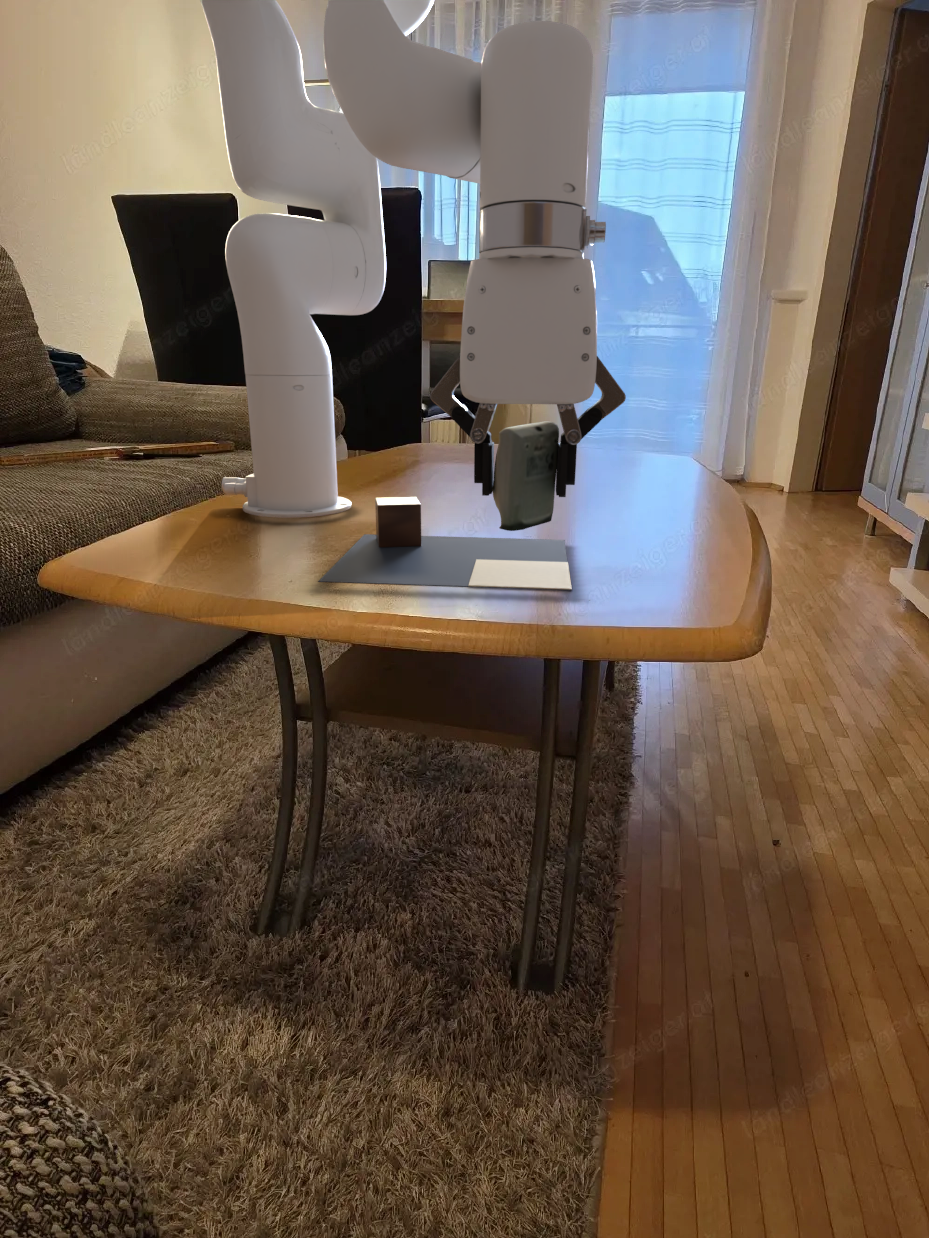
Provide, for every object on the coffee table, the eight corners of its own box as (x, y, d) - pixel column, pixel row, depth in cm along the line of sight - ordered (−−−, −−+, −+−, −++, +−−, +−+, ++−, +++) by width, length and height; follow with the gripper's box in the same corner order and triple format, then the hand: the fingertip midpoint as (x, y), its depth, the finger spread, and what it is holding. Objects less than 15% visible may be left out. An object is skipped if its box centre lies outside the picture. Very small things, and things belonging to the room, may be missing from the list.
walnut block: (378, 547, 71) (377, 505, 69) (376, 538, 74) (375, 497, 73) (421, 546, 71) (421, 504, 70) (416, 536, 75) (416, 496, 74)
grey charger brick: (553, 533, 58) (554, 426, 55) (486, 532, 59) (484, 426, 56) (559, 519, 63) (561, 420, 61) (497, 518, 64) (496, 421, 62)
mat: (318, 590, 60) (317, 580, 60) (364, 541, 76) (364, 533, 76) (571, 599, 58) (571, 588, 58) (564, 547, 74) (564, 538, 74)
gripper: (645, 247, 57) (627, 488, 63) (421, 248, 58) (424, 484, 64) (660, 231, 50) (638, 504, 56) (405, 233, 51) (410, 499, 57)
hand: (524, 491), depth 60 cm, fingers closed on grey charger brick, 5 cm apart
